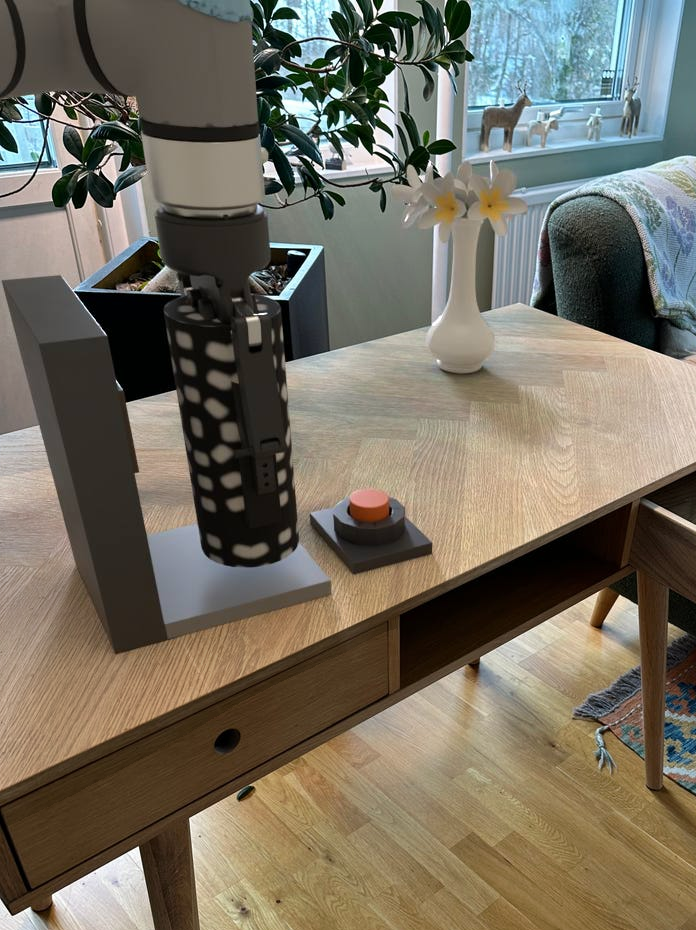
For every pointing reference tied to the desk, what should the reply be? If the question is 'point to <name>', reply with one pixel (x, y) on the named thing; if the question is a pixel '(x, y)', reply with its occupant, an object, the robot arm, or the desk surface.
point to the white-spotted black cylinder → (226, 437)
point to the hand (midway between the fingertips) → (245, 498)
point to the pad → (370, 537)
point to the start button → (369, 505)
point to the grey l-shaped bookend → (126, 490)
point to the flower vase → (460, 251)
